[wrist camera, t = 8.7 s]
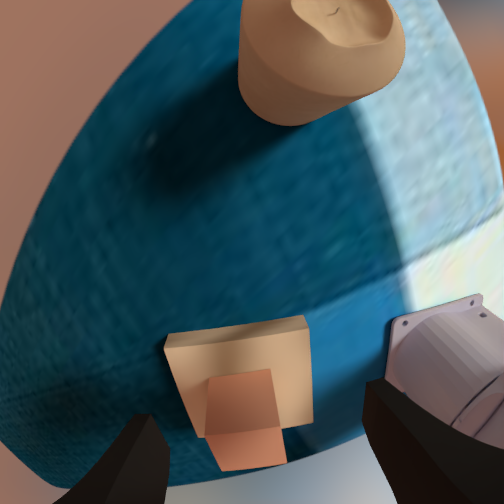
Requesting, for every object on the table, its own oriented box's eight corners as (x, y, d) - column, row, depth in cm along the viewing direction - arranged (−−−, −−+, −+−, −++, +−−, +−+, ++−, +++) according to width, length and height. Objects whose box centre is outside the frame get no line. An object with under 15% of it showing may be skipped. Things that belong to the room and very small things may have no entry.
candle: (250, 135, 16) (271, 100, 7) (228, 49, 15) (223, -57, 5) (342, 119, 16) (449, 87, 6) (318, 36, 14) (391, -53, 5)
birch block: (300, 309, 20) (308, 328, 18) (307, 401, 23) (313, 422, 20) (170, 328, 20) (163, 348, 18) (200, 416, 23) (198, 437, 20)
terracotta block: (270, 368, 18) (280, 426, 14) (277, 408, 20) (287, 463, 15) (209, 377, 18) (204, 435, 14) (222, 416, 20) (221, 471, 15)
